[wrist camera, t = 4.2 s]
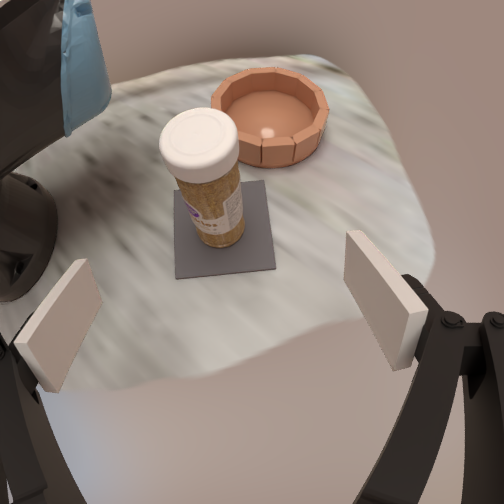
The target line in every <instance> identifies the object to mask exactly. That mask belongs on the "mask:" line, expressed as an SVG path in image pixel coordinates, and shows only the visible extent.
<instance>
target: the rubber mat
mask: <svg viewBox="0 0 504 504" xmlns="http://www.w3.org/2000/svg"><path fill="white" fill-rule="evenodd" d="M240 183H241V193H242V204H243V218H244V221H245V228H244V232H243V234H242V235H241V237H240V239H239V240H238V241H236V242H235V243H234V244H232V245H230V246H228V247H223V248H216V247H211V246H209V245H207V244H205V243H204V242H203V241H202V240H201V239H200V237H199V236H198V234H197V230H196V226H195V224H194V223H193V221H192V219H191V216H190V214H189V211H188V209H187V207H186V204H185V202H184V200H183V197H182V193H181V191H180V190H174V250H175V278H176V279H184V278H194V277H204V276H214V275H224V274H234V273H243V272H253V271H262V270H271V269H276V263H275V256H274V248H273V241H272V234H271V226H270V219H269V212H268V205H267V198H266V191H265V184H264V180H259V181H248V182H240Z"/></svg>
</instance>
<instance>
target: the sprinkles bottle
mask: <svg viewBox="0 0 504 504" xmlns="http://www.w3.org/2000/svg"><path fill="white" fill-rule="evenodd" d="M159 148H160V152H161V155H162V158H163V160H164V162H165V165H166V167H167V169H168V170H169V172H170V173H171V174H172V175H173V176H174V177H175V179H176V181H177V184H178V186H179V188H180V191H181V193H182V197H183V200H184V202H185V204H186V207H187V209H188V211H189V214H190V216H191V219H192V221H193V223H194V224H195V226H196V230H197V234H198V236H199V237H200V239H201V240H202V241H203V242H204V243H205V244H207V245H209V246H211V247H216V248H223V247H228V246H230V245H232V244H234V243H235V242H236V241H238V240H239V239H240V237H241V235H242V234H243V232H244V228H245V221H244V218H243V204H242V193H241V183H240V173H239V170H238V160H237V159H238V156H239V139H238V132H237V127H236V125H235V123H234V121H233V120H232V119H231V118H230V117H229V116H228V115H227V114H225V113H224V112H222V111H219V110H217V109H213V108H195V109H190V110H187V111H184V112H182V113H180V114H178V115H177V116H175V117H174V118H172V119H171V120H170V121H169V122H168V123H167V124H166V126H165V127H164V129H163V130H162V132H161V135H160V139H159Z"/></svg>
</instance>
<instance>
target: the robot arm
mask: <svg viewBox="0 0 504 504" xmlns="http://www.w3.org/2000/svg"><path fill="white" fill-rule="evenodd" d="M111 94H112V89H111V84H110V81H109V77H108V73H107V69H106V65H105V61H104V57H103V53H102V49H101V45H100V41H99V37H98V32H97V28H96V24H95V20H94V16H93V10H92V6H91V1H90V0H0V301H5V302H6V301H12V300H15V299H17V298H19V297H20V296H22V295H23V294H25V293H26V292H27V291H28V290H29V289H30V288H31V287H32V286H33V285H34V284H35V283H36V281H37V280H38V279H39V277H40V276H41V274H42V272H43V271H44V269H45V267H46V265H47V263H48V261H49V258H50V256H51V253H52V250H53V246H54V243H55V238H56V232H57V210H56V206H55V202H54V200H53V198H52V196H51V194H50V193H49V192H48V191H47V190H46V189H45V188H44V187H43V186H42V185H41V184H40V183H39V182H37V181H36V180H34V179H33V178H30V177H27V176H24V175H21V174H18V173H15V172H12V171H13V170H15V169H16V168H17V167H19V166H20V165H21V164H23V163H24V162H26V161H27V160H28V159H30V158H31V157H33V156H34V155H36V154H37V153H39V152H40V151H42V150H43V149H45V148H46V147H48V146H49V145H51V144H52V143H54V142H55V141H57V140H58V139H60V138H62V137H63V136H65V137H69V136H70V135H71V134H72V131H73V130H75V129H77V128H78V127H80V126H81V125H83V124H84V123H86V122H88V121H89V120H91V119H93V118H94V117H96V116H98V115H99V114H100V113H102V112H103V111H104V110H105V109H106V107H107V106H108V104H109V102H110V99H111ZM344 281H345V283H346V285H347V287H348V288H349V290H350V292H351V294H352V295H353V297H354V299H355V301H356V303H357V304H358V306H359V308H360V310H361V312H362V313H363V315H364V317H365V319H366V320H367V323H368V324H369V326H370V328H371V330H372V331H373V333H374V336H375V337H376V339H377V341H378V343H379V345H380V347H381V349H382V351H383V352H384V355H385V356H386V358H387V360H388V362H389V364H390V366H391V368H392V370H393V371H397V370H401V369H405V368H408V367H410V366H411V364H412V361H413V358H414V356H415V357H416V359H417V361H418V362H419V364H418V367H417V370H416V372H415V375H414V377H413V380H412V383H411V386H410V389H409V391H408V394H407V396H406V399H405V401H404V404H403V406H402V409H401V411H400V413H399V416H398V418H397V420H396V422H395V425H394V427H393V429H392V431H391V433H390V436H389V438H388V440H387V442H386V444H385V446H384V448H383V450H382V452H381V454H380V456H379V458H378V460H377V462H376V464H375V465H374V467H373V469H372V471H371V473H370V475H369V477H368V478H367V480H366V482H365V484H364V485H363V487H362V489H361V490H360V492H359V494H358V495H357V497H356V499H355V500H354V502H353V504H418V502H419V500H420V497H421V495H422V493H423V490H424V488H425V486H426V483H427V480H428V478H429V475H430V473H431V471H432V468H433V465H434V463H435V460H436V457H437V454H438V451H439V448H440V445H441V442H442V439H443V436H444V432H445V429H446V426H447V422H448V419H449V415H450V412H451V408H452V404H453V400H454V396H455V391H456V387H457V382H458V378H459V376H461V375H462V381H463V393H464V413H465V460H464V461H465V462H464V478H463V491H462V501H461V504H504V314H501V313H499V312H488V313H486V314H485V315H484V317H483V319H482V322H481V323H466V321H465V320H464V318H463V317H462V316H460V315H459V314H457V313H454V312H451V311H444V310H443V309H442V307H441V306H440V305H439V304H438V303H437V301H436V300H435V299H434V298H433V297H432V296H431V294H429V293H428V291H427V290H426V289H425V288H424V286H423V285H422V284H421V283H420V282H419V281H418V280H417V279H416V278H414V277H412V276H411V275H409V274H405V275H400V274H399V273H398V272H397V270H396V269H395V268H394V267H393V266H392V265H391V263H390V262H389V261H388V260H387V259H386V258H385V257H384V255H383V254H382V253H381V252H380V251H379V250H378V249H377V247H376V246H375V245H374V244H373V243H372V242H371V241H370V240H369V239H368V237H367V236H366V235H365V234H364V233H363V232H362V231H361V230H356V231H346V250H345V267H344ZM102 303H103V302H102V299H101V296H100V294H99V291H98V288H97V285H96V283H95V280H94V277H93V274H92V271H91V268H90V265H89V262H88V259H78V260H75V261H74V262H73V264H72V265H71V266H70V267H69V268H68V270H67V271H66V272H65V273H64V274H63V276H62V277H61V278H60V279H59V281H58V282H57V283H56V285H55V286H54V287H53V288H52V290H51V291H50V292H49V293H48V295H47V296H46V297H45V299H44V300H43V301H42V303H41V304H40V305H39V307H38V308H37V309H36V311H34V312H33V313H32V314H31V315H30V316H29V317H28V318H27V320H26V321H25V322H24V324H23V325H22V327H21V328H20V329H21V330H19V331H18V332H17V334H16V335H15V337H14V338H13V340H12V341H11V343H10V344H9V346H8V345H7V344H6V342H5V340H4V338H3V337H2V335H1V333H0V504H9V499H8V490H7V481H8V484H9V488H10V490H11V494H12V497H13V503H11V504H87V503H86V501H85V499H84V497H83V496H82V494H81V492H80V490H79V488H78V486H77V484H76V482H75V480H74V478H73V476H72V474H71V472H70V470H69V468H68V466H67V464H66V462H65V460H64V457H63V455H62V453H61V451H60V448H59V446H58V444H57V441H56V439H55V436H54V434H53V431H52V429H51V426H50V423H49V421H48V418H47V415H46V412H45V410H44V406H43V403H42V401H41V397H40V394H39V392H38V391H37V389H36V386H37V384H38V382H39V384H40V385H41V386H42V388H43V389H44V390H45V391H46V392H53V393H59V391H60V388H61V386H62V384H63V382H64V379H65V377H66V375H67V373H68V371H69V368H70V366H71V364H72V362H73V360H74V358H75V356H76V354H77V352H78V350H79V347H80V345H81V343H82V341H83V339H84V337H85V335H86V333H87V331H88V329H89V328H90V326H91V324H92V322H93V320H94V318H95V316H96V314H97V312H98V310H99V308H100V307H101V305H102ZM6 478H7V479H6Z"/></svg>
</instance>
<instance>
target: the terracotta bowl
mask: <svg viewBox="0 0 504 504" xmlns="http://www.w3.org/2000/svg"><path fill="white" fill-rule="evenodd" d="M321 90H322V89H320V88H319V87H318V86H317V85H315V84H314V83H313V82H312V81H310V80H309V79H308V78H307V77H305V76H304V75H302V74H299V73H296V72H292V71H289V70H285V69H281V68H278V67H277V68H275V67H267V68H251V69H249V70H248V69H247V70H244V71H242V72H240V73H237V74H235V75H233V76H231V77H229V78H226V80H224V81H223V82H222V83H221V85H220V86H219V87H218V88H217V90H216V91H215V92H214V93H213V95H212V96H211V108H213V109H217V110H219V111H222V112H224V113H225V114H227V115H228V116H229V117H230V118H231V119H232V120H233V121H234V123H235V125H236V127H237V132H238V139H239V156H238V159H237V160H238V161H240V162H243V163H245V164H248V165H251V166H255V167H261V168H280V167H286V166H290V165H293V164H296V163H298V162H300V161H302V160H304V159H305V158H307V157H308V156H310V155H311V154H312V153H313V152H314V150H315V149H316V148H317V146H318V144H319V143H320V140H321V136H322V134H323V131H324V129H325V126H326V122H327V118H328V114H329V107H328V104H327V101H326V99H325V96H324V93H323V91H321Z"/></svg>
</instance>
